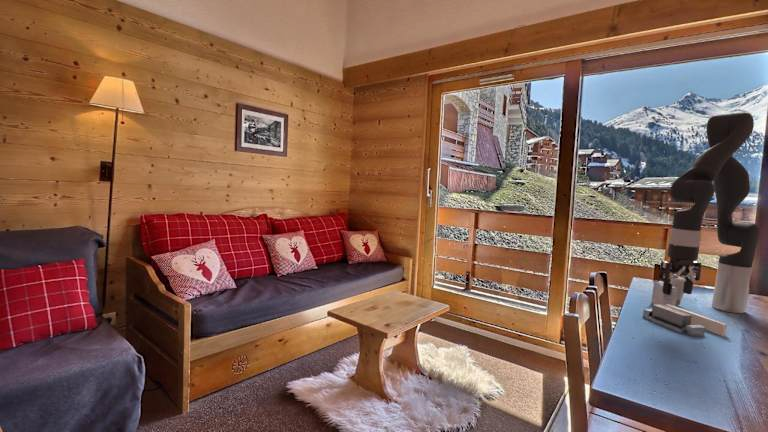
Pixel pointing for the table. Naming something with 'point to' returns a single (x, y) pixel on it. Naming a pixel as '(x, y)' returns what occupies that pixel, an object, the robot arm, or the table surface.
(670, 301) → the medicine box
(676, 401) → the table surface
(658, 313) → the lock bar
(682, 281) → the lightbulb
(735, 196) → the robot arm
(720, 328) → the door edge
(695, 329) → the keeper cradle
